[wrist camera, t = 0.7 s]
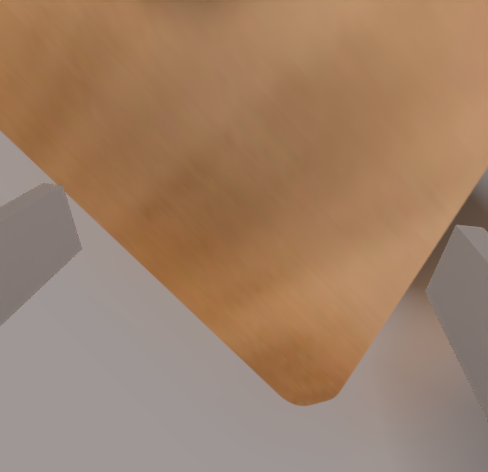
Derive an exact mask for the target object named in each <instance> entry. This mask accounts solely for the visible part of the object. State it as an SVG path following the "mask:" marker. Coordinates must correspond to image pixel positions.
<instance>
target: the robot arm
mask: <svg viewBox="0 0 488 472" xmlns="http://www.w3.org/2000/svg"><path fill="white" fill-rule="evenodd" d="M81 249H82V247H81V244H80V241H79V237H78V234H77V231H76V227H75V224H74V221H73V218H72V214H71V211H70V208H69V205H68V201H67V198H66V194H65V191H64V188H63V185H53V184H44V183H43V184H41V185H39V186H38V187H36V188H34V189H32V190H30V191H29V192H27V193H25V194H23V195H22V196H19V197H18V198H16V199H14V200H12V201H10V202H9V203H7V204H5V205H3V206H1V207H0V326H1V325H2V324H3V323H4V322H5V321H6V320H7V319H9V318H10V317H11V316H12V315H13V314H14V313H15V312H16V311H17V310H18V309H19V308H20V307H21V306H22V305H23V304H24V303H25V302H26V301H27V300H29V299H30V298H31V297H32V296H33V295H34V294H35V293H36V292H37V291H38V290H39V289H40V288H41V287H42V286H43V285H44V284H45V283H46V282H48V280H50V279H51V278H52V277H53V276H54V275H55V274H56V273H57V272H58V271H59V270H60V269H61V268H62V267H63V266H64V265H66V264H67V262H68V261H70V260H71V259H72V258H73V257H74V256H75V255H76V254H77V253H78V252H79V251H80V250H81ZM425 293H426V295H427V297H428V299H429V301H430V303H431V305H432V307H433V309H434V311H435V313H436V315H437V317H438V320H439V322H440V324H441V326H442V328H443V330H444V332H445V334H446V336H447V338H448V340H449V342H450V344H451V346H452V348H453V350H454V352H455V354H456V357H457V359H458V361H459V363H460V365H461V367H462V369H463V371H464V373H465V375H466V377H467V379H468V381H469V383H470V385H471V387H472V389H473V392H474V394H475V395H476V398H477V400H478V402H479V404H480V406H481V407H482V410H483V412H484V414H485V416H486V418H487V420H488V232H487V231H486V230H485V229H484V228H482V227H472V226H463V225H456V226H455V228H454V230H453V233H452V235H451V237H450V239H449V241H448V244H447V246H446V248H445V250H444V252H443V254H442V256H441V259H440V261H439V263H438V265H437V267H436V269H435V271H434V274H433V276H432V278H431V280H430V282H429V285H428V287H427V289H426V291H425Z"/></svg>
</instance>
